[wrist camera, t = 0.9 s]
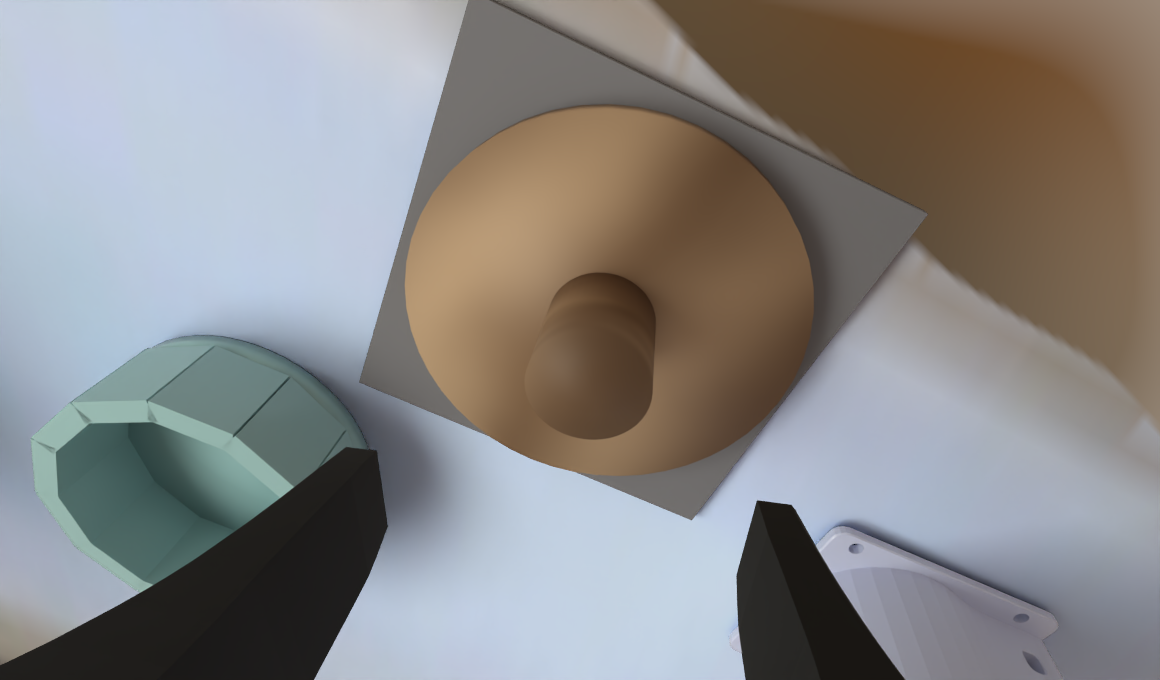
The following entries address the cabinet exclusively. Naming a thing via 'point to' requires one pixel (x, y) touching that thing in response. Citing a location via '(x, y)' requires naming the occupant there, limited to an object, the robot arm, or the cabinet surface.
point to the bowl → (183, 451)
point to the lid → (609, 290)
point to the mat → (587, 77)
